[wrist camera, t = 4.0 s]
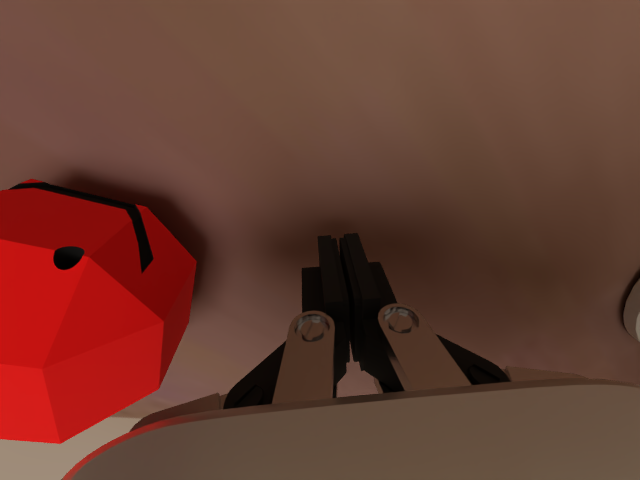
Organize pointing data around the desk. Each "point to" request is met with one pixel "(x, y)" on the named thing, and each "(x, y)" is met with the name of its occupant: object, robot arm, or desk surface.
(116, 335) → the ball
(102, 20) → the desk surface
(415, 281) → the desk surface
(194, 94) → the desk surface
